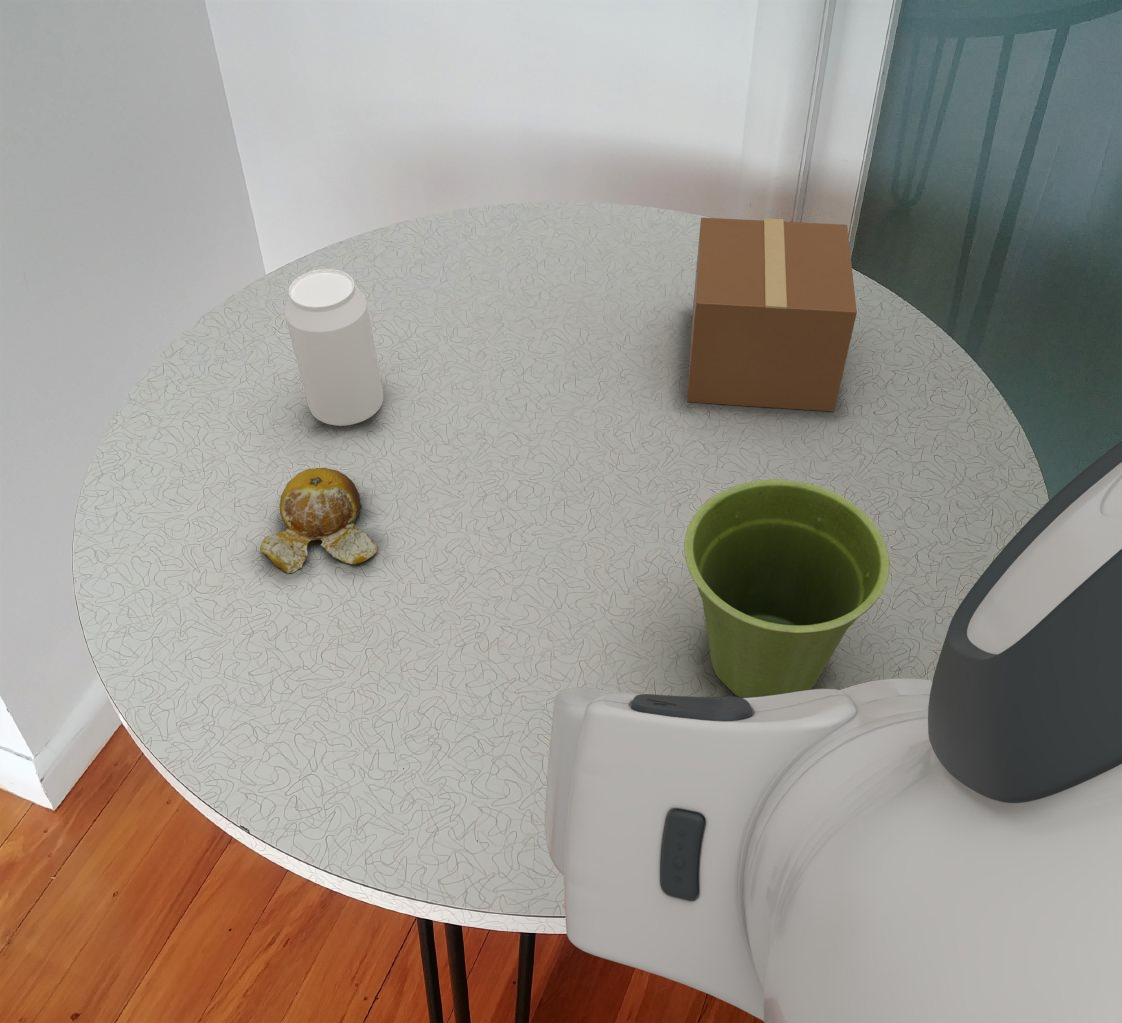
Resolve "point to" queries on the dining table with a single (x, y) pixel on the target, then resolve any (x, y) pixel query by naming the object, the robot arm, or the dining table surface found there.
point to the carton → (771, 314)
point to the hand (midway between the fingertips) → (833, 734)
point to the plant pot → (781, 580)
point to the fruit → (318, 520)
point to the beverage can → (334, 347)
